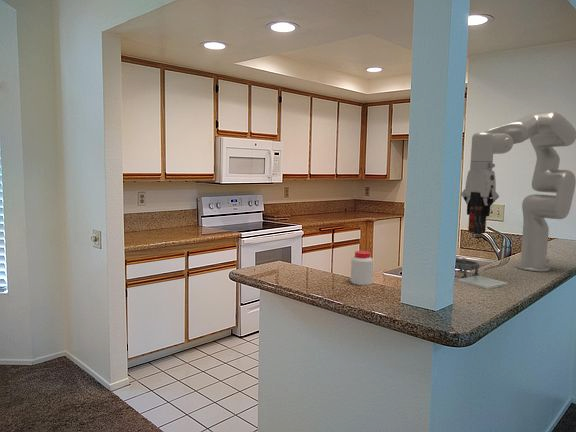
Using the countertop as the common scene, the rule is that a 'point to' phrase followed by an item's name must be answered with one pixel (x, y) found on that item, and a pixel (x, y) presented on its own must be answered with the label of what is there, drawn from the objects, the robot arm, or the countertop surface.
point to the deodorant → (476, 214)
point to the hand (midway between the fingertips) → (477, 214)
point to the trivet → (482, 282)
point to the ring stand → (467, 267)
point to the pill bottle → (362, 268)
